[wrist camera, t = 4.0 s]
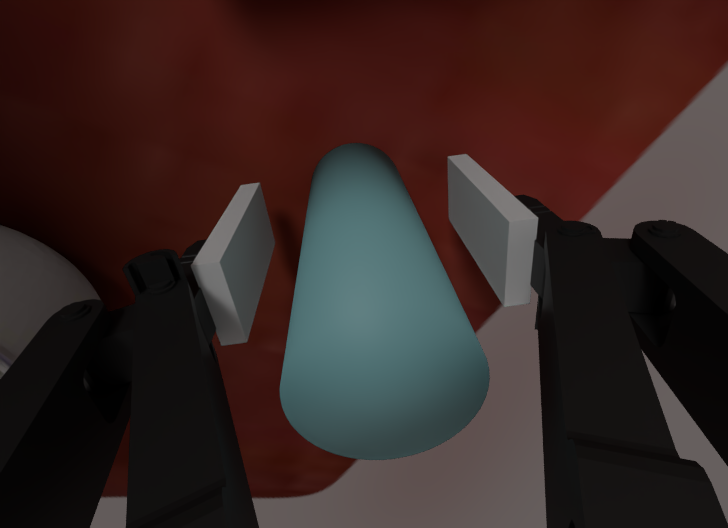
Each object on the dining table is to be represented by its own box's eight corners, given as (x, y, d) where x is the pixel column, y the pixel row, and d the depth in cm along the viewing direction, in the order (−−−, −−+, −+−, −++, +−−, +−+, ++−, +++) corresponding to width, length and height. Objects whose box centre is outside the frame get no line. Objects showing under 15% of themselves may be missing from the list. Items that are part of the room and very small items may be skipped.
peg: (319, 234, 19) (302, 471, 9) (303, 149, 17) (256, 324, 7) (403, 222, 19) (486, 446, 9) (396, 136, 17) (493, 292, 7)
